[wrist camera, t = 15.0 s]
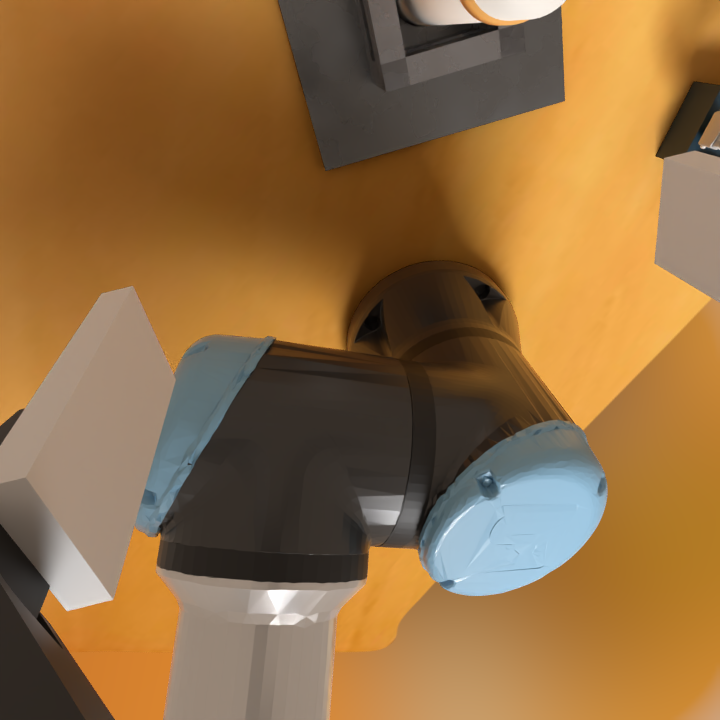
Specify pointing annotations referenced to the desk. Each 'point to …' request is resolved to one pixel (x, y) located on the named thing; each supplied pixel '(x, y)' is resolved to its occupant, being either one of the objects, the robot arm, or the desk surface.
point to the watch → (695, 123)
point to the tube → (473, 11)
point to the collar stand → (414, 74)
